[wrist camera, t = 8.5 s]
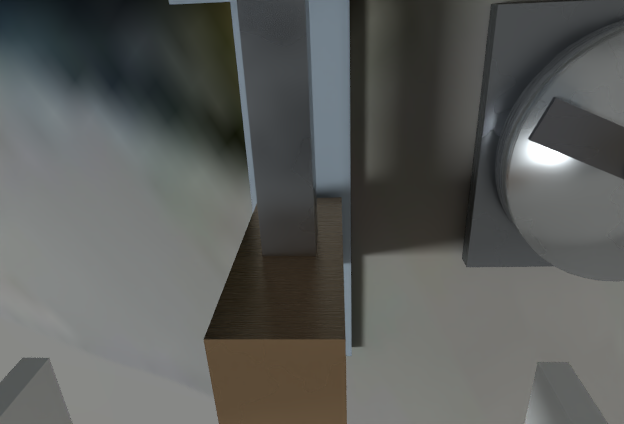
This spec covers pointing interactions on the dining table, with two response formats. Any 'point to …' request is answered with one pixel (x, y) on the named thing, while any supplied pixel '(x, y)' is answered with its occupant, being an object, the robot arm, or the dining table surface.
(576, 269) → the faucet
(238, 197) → the dining table surface
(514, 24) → the wheel stand
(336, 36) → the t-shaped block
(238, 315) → the post in wooden base
